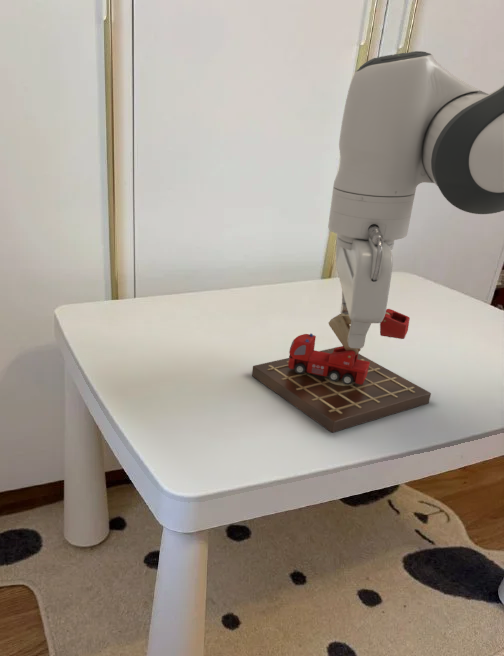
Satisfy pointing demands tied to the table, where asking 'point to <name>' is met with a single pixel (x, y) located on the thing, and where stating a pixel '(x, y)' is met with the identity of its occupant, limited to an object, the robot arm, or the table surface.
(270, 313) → the table surface
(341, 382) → the board
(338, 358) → the toy fire truck
